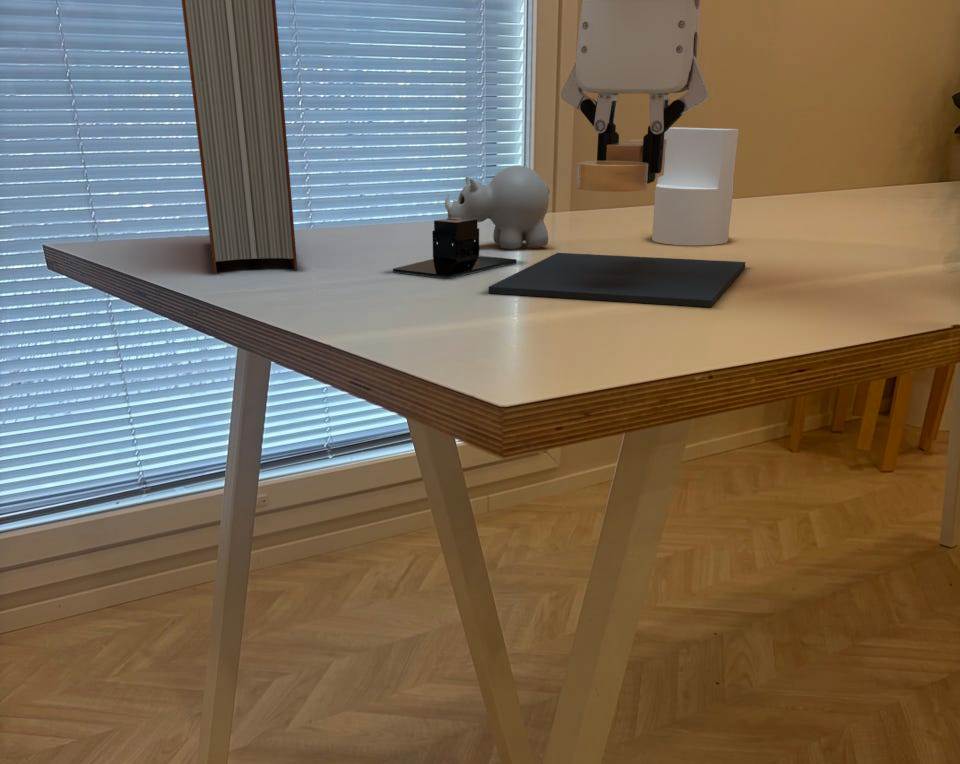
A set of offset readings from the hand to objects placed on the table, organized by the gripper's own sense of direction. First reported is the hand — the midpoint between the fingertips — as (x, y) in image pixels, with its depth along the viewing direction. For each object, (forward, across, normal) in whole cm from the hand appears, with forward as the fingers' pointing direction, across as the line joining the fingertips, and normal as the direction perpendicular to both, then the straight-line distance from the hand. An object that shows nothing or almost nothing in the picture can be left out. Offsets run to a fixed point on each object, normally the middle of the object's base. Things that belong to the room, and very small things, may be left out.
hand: (628, 179), depth 94 cm
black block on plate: (+9, +18, -2) cm, 20 cm away
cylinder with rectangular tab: (+9, -1, -30) cm, 32 cm away
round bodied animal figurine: (+9, +19, -18) cm, 27 cm away
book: (+9, +42, -2) cm, 43 cm away
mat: (+9, 0, 0) cm, 9 cm away
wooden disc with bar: (0, 0, 0) cm, 0 cm away
